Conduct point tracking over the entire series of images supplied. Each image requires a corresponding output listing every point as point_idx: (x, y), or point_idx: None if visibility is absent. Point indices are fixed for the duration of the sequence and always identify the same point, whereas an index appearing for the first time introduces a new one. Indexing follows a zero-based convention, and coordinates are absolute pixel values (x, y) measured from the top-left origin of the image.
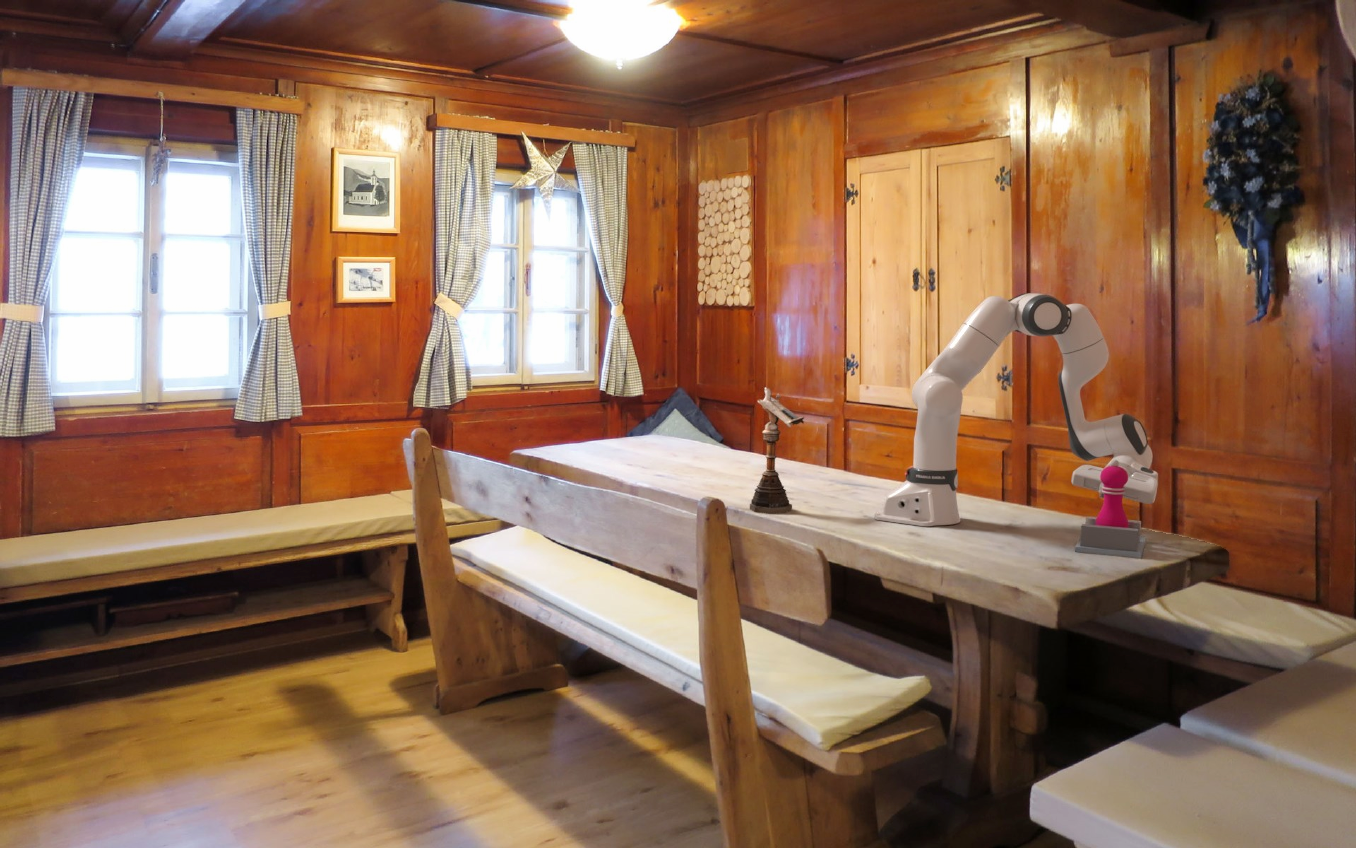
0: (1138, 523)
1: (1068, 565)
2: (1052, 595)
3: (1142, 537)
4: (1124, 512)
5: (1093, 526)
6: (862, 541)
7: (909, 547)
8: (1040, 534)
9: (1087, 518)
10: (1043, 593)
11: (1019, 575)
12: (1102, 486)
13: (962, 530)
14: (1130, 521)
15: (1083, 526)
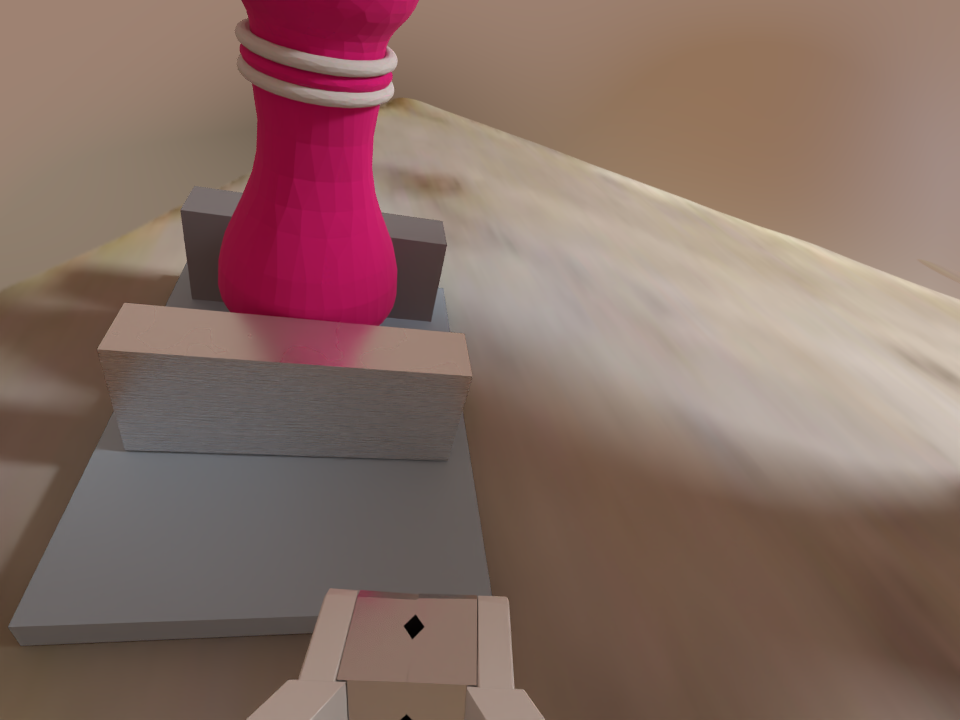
0: (138, 308)
1: (421, 201)
2: (405, 98)
3: (60, 576)
4: (242, 198)
5: (393, 219)
6: (896, 281)
7: (792, 261)
8: (692, 542)
9: (454, 333)
10: (421, 103)
11: (491, 152)
12: (395, 55)
13: (937, 475)
14: (188, 321)
15: (432, 221)
